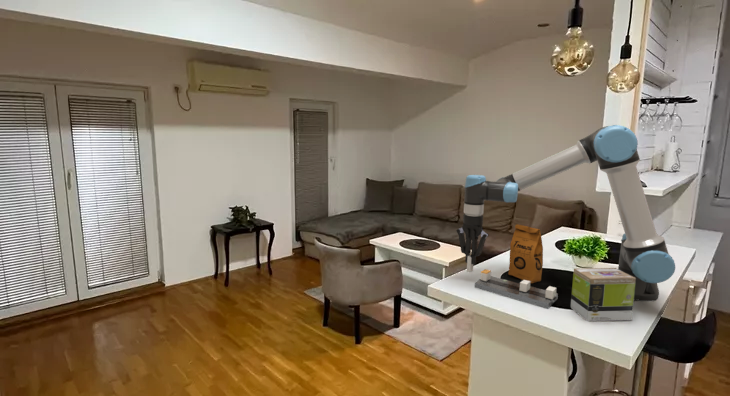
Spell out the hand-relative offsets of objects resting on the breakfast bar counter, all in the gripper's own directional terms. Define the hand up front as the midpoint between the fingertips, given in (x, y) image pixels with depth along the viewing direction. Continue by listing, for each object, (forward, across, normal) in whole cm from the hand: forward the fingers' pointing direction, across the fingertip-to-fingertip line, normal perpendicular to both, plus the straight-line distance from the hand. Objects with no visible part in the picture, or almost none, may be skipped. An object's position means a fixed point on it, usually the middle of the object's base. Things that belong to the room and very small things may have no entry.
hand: (469, 271), depth 157 cm
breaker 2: (+2, -22, 0) cm, 22 cm away
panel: (+4, -18, 0) cm, 19 cm away
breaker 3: (+2, -31, 0) cm, 31 cm away
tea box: (+4, -46, -2) cm, 46 cm away
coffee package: (+4, -16, -18) cm, 24 cm away
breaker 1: (+2, -7, 0) cm, 7 cm away
